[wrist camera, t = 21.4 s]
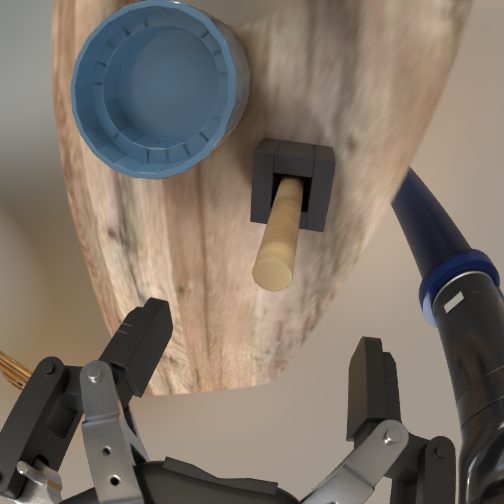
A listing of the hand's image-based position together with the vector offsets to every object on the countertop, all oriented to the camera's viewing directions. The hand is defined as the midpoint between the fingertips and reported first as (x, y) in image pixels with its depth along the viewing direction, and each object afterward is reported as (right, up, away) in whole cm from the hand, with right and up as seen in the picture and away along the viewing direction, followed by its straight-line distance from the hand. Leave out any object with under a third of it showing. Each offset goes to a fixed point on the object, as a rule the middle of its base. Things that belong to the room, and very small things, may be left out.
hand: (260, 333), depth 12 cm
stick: (+4, +10, +15) cm, 19 cm away
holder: (+4, +10, +15) cm, 19 cm away
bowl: (-8, +19, +12) cm, 24 cm away
